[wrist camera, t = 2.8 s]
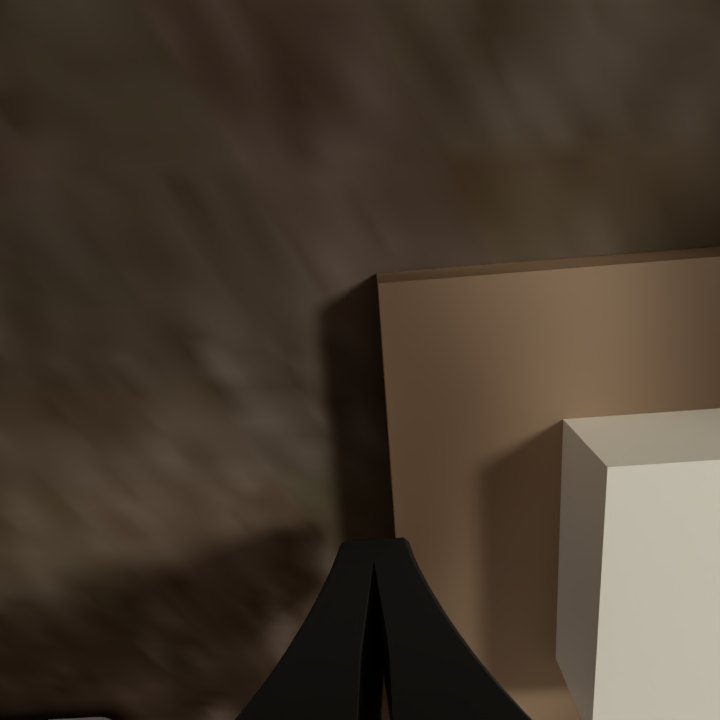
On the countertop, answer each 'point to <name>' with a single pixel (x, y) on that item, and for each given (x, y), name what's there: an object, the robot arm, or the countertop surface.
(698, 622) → the cream tile
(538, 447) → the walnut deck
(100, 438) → the countertop surface
